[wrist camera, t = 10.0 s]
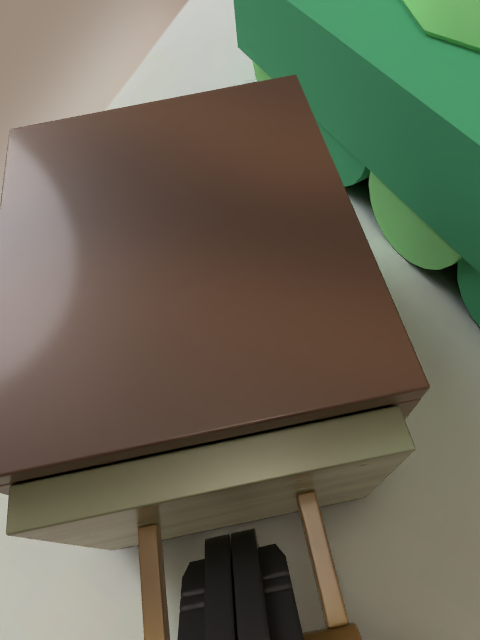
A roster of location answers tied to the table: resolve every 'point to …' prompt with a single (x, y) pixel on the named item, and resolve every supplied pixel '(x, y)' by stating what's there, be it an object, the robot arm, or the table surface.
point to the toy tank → (390, 111)
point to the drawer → (219, 498)
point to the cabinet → (184, 283)
